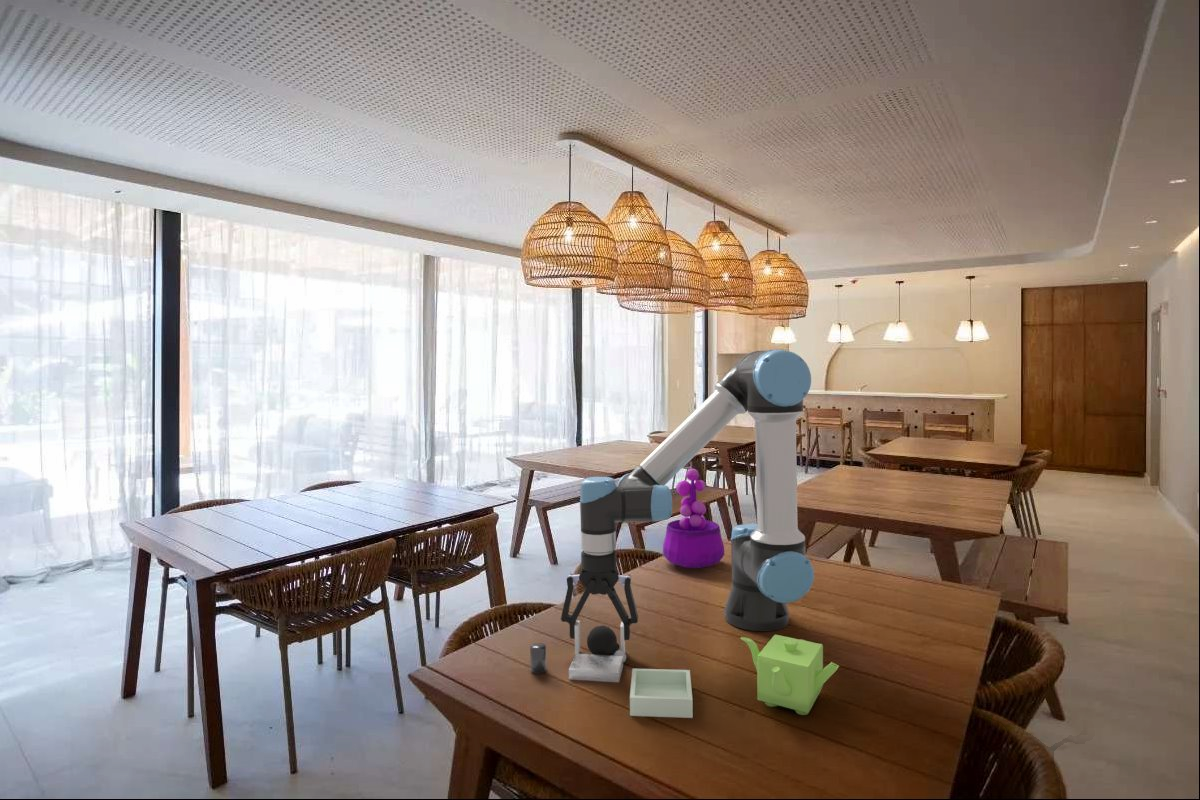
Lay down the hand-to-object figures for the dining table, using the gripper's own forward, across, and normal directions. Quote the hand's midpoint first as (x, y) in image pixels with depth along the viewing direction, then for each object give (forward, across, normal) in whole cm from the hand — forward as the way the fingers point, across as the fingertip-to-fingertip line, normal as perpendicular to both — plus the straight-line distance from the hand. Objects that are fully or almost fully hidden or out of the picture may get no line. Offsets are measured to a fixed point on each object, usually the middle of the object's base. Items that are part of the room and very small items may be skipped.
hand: (600, 653), depth 139 cm
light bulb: (0, -2, +1) cm, 2 cm away
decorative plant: (0, -23, -63) cm, 67 cm away
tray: (0, -13, +18) cm, 23 cm away
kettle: (0, -36, +17) cm, 40 cm away
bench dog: (0, +12, +8) cm, 14 cm away
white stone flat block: (+1, 0, +8) cm, 8 cm away
